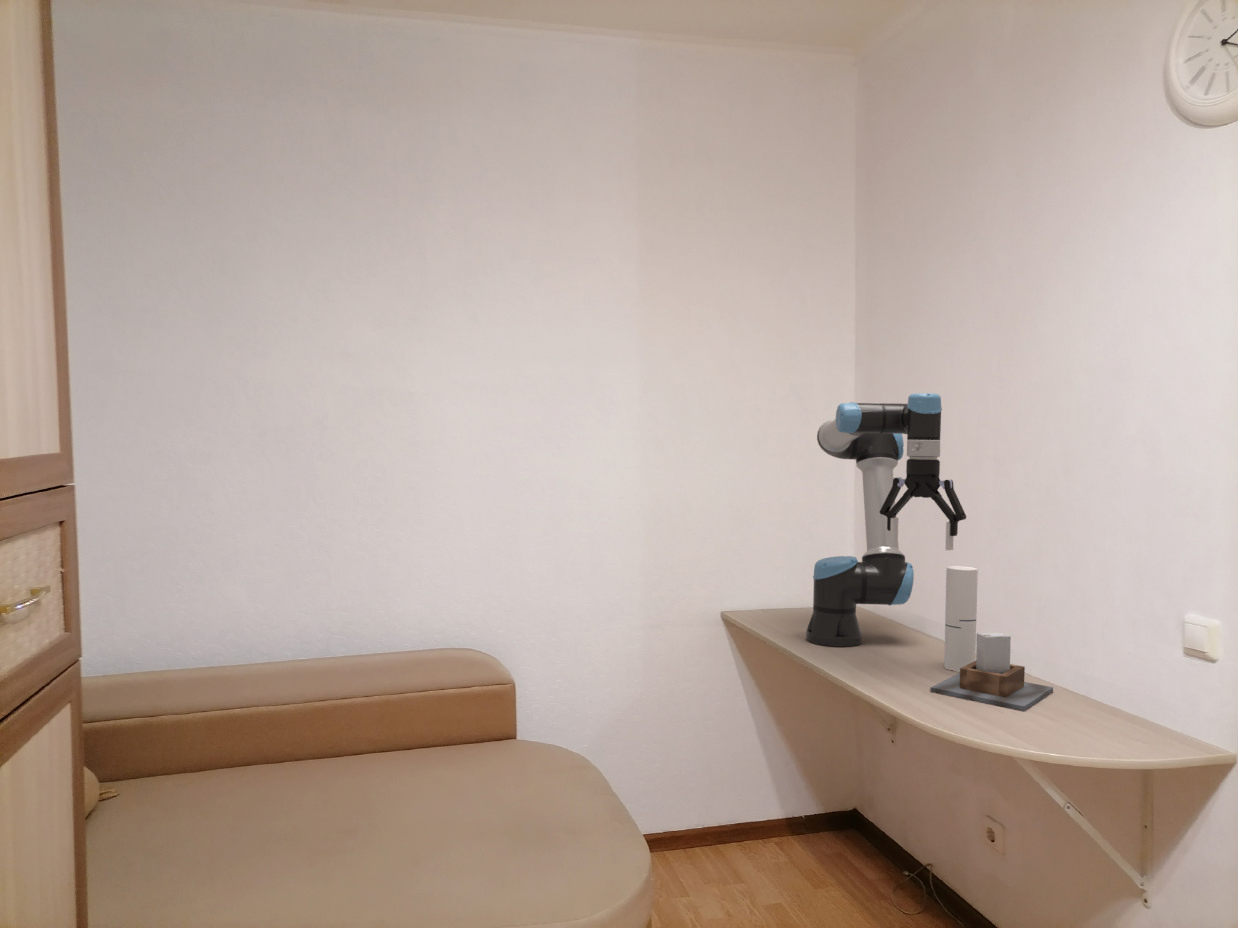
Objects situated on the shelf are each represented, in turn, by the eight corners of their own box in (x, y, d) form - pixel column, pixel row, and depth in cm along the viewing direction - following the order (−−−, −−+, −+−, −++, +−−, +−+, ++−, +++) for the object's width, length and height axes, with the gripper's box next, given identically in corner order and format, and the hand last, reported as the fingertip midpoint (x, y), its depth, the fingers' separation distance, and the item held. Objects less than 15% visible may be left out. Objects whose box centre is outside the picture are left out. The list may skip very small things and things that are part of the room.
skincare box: (999, 684, 200) (1001, 631, 200) (1010, 689, 196) (1012, 635, 196) (974, 684, 200) (975, 631, 199) (984, 690, 195) (985, 636, 195)
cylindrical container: (977, 673, 213) (980, 570, 213) (946, 671, 215) (949, 569, 214) (972, 665, 220) (974, 566, 220) (941, 664, 222) (944, 565, 221)
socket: (930, 691, 197) (930, 667, 197) (964, 674, 212) (964, 652, 212) (1024, 711, 184) (1024, 684, 184) (1053, 691, 199) (1053, 667, 198)
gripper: (867, 457, 215) (865, 543, 216) (970, 459, 199) (967, 553, 199) (880, 457, 221) (879, 541, 222) (982, 459, 204) (979, 550, 205)
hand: (921, 547), depth 210 cm, fingers open, 13 cm apart
